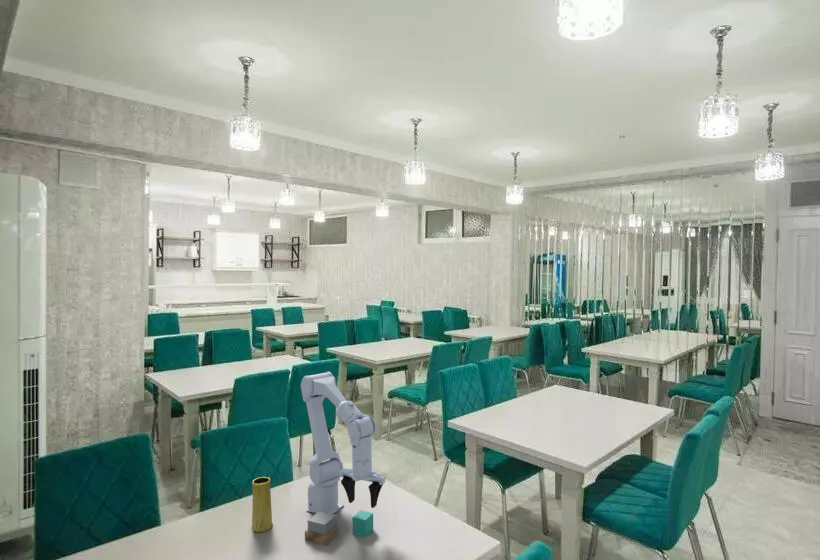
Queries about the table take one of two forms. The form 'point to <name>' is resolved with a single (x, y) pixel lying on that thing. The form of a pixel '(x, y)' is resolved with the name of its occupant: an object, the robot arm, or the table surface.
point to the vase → (261, 505)
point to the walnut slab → (321, 536)
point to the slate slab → (322, 522)
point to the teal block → (362, 523)
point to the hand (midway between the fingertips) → (362, 503)
